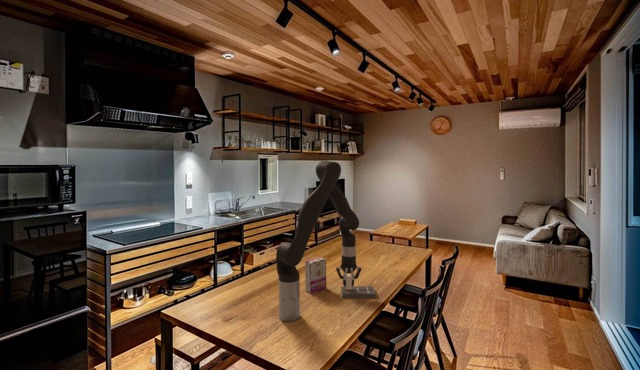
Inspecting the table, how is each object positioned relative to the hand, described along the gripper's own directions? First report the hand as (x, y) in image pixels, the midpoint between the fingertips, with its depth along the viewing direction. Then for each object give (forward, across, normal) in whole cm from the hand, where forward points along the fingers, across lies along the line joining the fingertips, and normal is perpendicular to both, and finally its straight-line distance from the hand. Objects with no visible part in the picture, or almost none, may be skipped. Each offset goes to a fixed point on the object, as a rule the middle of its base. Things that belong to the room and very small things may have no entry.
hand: (348, 286), depth 173 cm
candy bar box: (+4, -17, +6) cm, 19 cm away
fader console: (+4, +5, 0) cm, 6 cm away
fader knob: (+2, 0, 0) cm, 2 cm away
